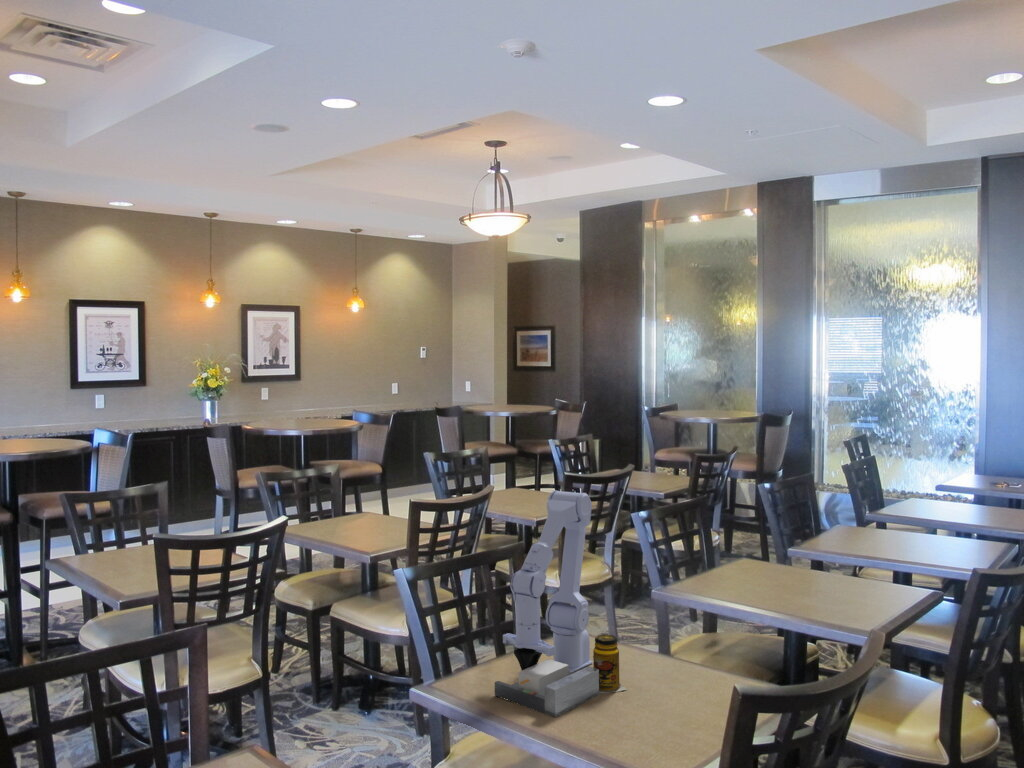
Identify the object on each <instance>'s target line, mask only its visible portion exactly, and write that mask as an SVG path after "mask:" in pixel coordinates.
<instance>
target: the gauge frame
mask: <svg viewBox="0 0 1024 768" xmlns="http://www.w3.org/2000/svg"><path fill="white" fill-rule="evenodd" d="M539 663H540V662H538V663H537V664H539ZM599 695H600V694H599V669H596V668H593V667H591V666H589V665H587V666H585V667H583V668H581V669H578V670H576V671H574V672H572V673H570V672H569V675H568V676H566V677H564V678H562V679H560V680H558V681H556V682H553V683H551V684H549V685H547V686H545V696H542V695H539V694H536V692H533V691H530V690H528V689H525V690H524V689H521V688H519V682H515V683H514V684H509V683H506V682H502V681H500V680H496V681H494V696H495V697H496V696H498V697H497V698H499V697H502V698H505V699H508V700H510V701H513V702H515V703H514V704H516V703H518V704H517V705H519V704H520V705H519V706H522V705H523V706H522V707H524V706H526V707H525V708H527V707H529V708H528V709H530V708H532V709H531V710H533V709H534V710H533V711H536V710H537V711H536V712H539V713H541V714H545V715H547V716H550V717H553V718H557V717H559V716H561V715H563V714H565V713H567V712H569V711H572V710H573V709H575V708H577V707H579V706H581V705H583V704H584V703H586V701H587V702H589V701H591V700H592V699H594V698H597V697H598V696H599ZM502 698H501V699H502ZM505 699H504V700H505ZM508 700H507V701H508ZM510 701H509V702H510ZM513 702H512V703H513ZM582 703H583V704H582Z"/></svg>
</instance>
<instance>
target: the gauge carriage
mask: <svg viewBox="0 0 1024 768" xmlns="http://www.w3.org/2000/svg"><path fill="white" fill-rule="evenodd" d="M538 663H539V664H538ZM538 663H537V664H536V665H534V666H531V667H529V668H527V669H524V670H520V671H518V679H517V680H518V682H519V688H521V689H524V690H525V689H528V690H530V691H533V692H536V694H539V695H542V696H545V686H547V685H549V684H551V683H553V682H556V681H558V680H560V679H562V678H564V677H566V676H568V675H569V665H567V664H564V663H560V662H557V661H554V660H553V659H550V658H549V659H546V660H544V661H541V662H538Z"/></svg>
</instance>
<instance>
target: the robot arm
mask: <svg viewBox="0 0 1024 768" xmlns="http://www.w3.org/2000/svg"><path fill="white" fill-rule="evenodd" d="M592 506H593V502H592V501H591V497H590V496H589V494H587V492H573V491H562V490H561V491H560V490H556V489H554V490H552V491H551V492H550V493H549V496H548V498H547V502H546V511H547V517H546V520H545V522H544V526H543V528H542V531H541V534H540V537H539V539H538V542H535V543H533V544H532V545H531V546H530V549H529V551H528V553H527V555H526V558H525V559H524V562H523V564H522V566H521V568H520V569H519V570H518V571H515V573H513V575H512V576H511V582H510V584H509V587H510V590H511V592H512V597H513V602H515V634H514V633H513V634H512V633H510V632H509V633H508V632H507V633H506V634H505V633H504V634H503V635H502V644H511V645H513V646H514V647H515V648H516V649H515V650H513V654H514V656H515V657H516V659H517V662H518V664H519V666H520V671H522V670H524V669H527V668H529V667H531V666H534V665H536V664H538V663H539V660H540V659H541V656H542V654H543V655H545V656H546V657H550V658H551V657H552V656H553V657H552V660H554V661H557V662H560V663H564V664H567V665H569V672H570V673H575V672H577V671H579V670H581V669H584V668H586V667H588V666H589V665H591V664H593V662H594V660H591V659H590V658H591V655H590V654H591V651H590V650H591V649H590V647H591V646H590V645H591V644H590V643H591V641H590V640H591V639H590V634H589V633H588V631H587V630H586V629H587V627H588V625H589V622H590V621H589V620H590V613H589V602H588V601H587V600H586V598H585V597H584V596H583V595H582V594H581V593H580V588H581V587H580V586H581V578H582V570H583V569H582V566H583V558H584V549H585V541H586V540H585V539H586V532H587V531H586V530H587V527H588V526H590V525H591V516H592ZM563 528H565V534H564V543H563V550H562V551H563V552H562V559H561V561H562V562H561V567H560V571H561V572H560V579H559V588H558V591H557V592H555V593H554V594H552V595H551V596H550V597H549V602H548V605H547V608H546V612H545V621H546V623H547V626H548V627H550V631H551V632H552V636H553V637H552V644H550V643H548V642H546V641H545V640H542V638H541V597H542V595H543V593H544V591H545V587H546V579H547V574H546V573H547V570H548V569H549V566H550V564H551V562H552V560H553V557H554V552H553V549H552V548H553V547H554V545H555V543H556V541H557V540H558V538H559V536H560V534H561V532H562V530H563Z"/></svg>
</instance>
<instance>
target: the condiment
mask: <svg viewBox="0 0 1024 768" xmlns="http://www.w3.org/2000/svg"><path fill="white" fill-rule="evenodd" d="M592 661H593V663H592V665H593V667H592V668H596V669H599V695H601V694H611V693H617V692H621V691H626V690H627V691H628V689H627V688H626V687H625V686H624V685H622V683H620V650H619V648H618V638H617V637H616V635H612V634H607V633H605V634H599V635H597V636H595V638H594V648H593V656H592Z"/></svg>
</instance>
